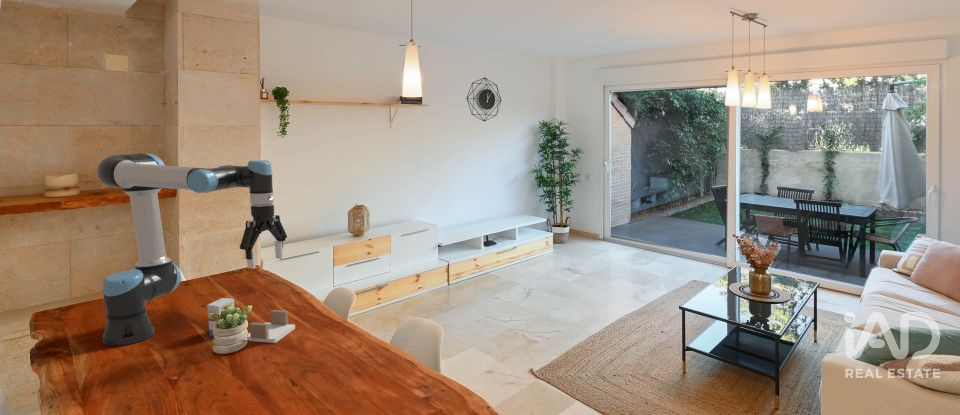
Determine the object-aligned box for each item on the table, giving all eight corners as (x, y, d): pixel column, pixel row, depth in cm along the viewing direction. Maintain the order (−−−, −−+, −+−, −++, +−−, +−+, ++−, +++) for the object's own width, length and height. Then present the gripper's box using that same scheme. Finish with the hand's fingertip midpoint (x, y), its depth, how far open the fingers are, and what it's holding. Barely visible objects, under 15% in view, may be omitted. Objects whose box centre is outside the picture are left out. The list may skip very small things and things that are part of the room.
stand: (243, 341, 175) (241, 323, 174) (266, 325, 188) (265, 309, 187) (274, 343, 173) (273, 326, 172) (295, 327, 186) (294, 311, 185)
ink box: (221, 337, 178) (218, 306, 176) (209, 336, 179) (206, 305, 177) (237, 328, 186) (234, 298, 184) (225, 327, 187) (223, 297, 185)
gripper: (243, 210, 162) (247, 273, 165) (295, 200, 185) (298, 255, 188) (225, 209, 164) (229, 271, 168) (278, 199, 187) (281, 253, 191)
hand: (265, 263), depth 178 cm, fingers open, 13 cm apart
